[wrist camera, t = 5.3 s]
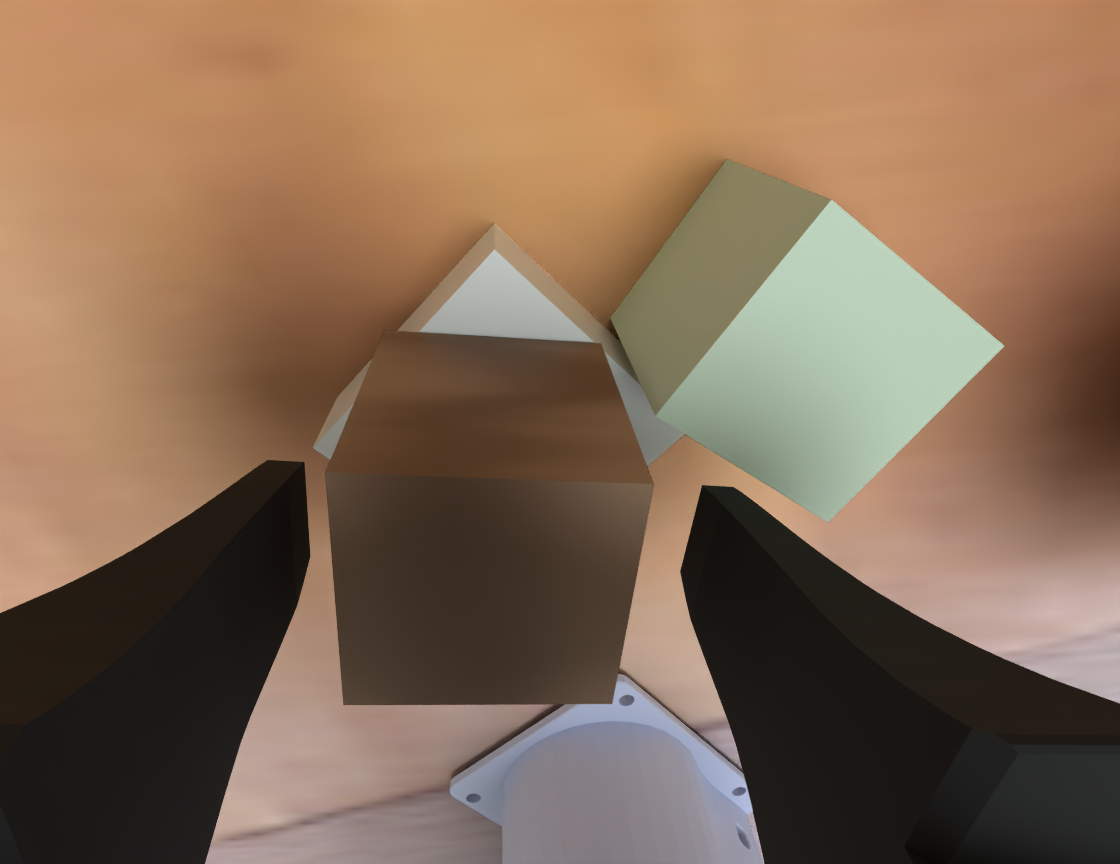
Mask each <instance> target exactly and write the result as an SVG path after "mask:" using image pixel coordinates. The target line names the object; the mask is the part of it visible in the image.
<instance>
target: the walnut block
mask: <svg viewBox="0 0 1120 864" xmlns="http://www.w3.org/2000/svg"><path fill="white" fill-rule="evenodd" d="M325 476H326V489H327V502H328V514H329V527H330V540H331V553H332V565H333V578H334V591H335V603H336V616H337V629H338V641H339V654H340V667H341V679H342V692H343V705H490V704H612V703H613V698H614V693H615V687H616V682H617V677H618V672H619V666H620V661H621V656H622V650H623V645H624V640H625V635H626V629H627V624H628V619H629V613H630V608H631V603H632V597H633V592H634V587H635V582H636V576H637V571H638V566H639V560H640V555H641V550H642V545H643V539H644V534H645V529H646V523H647V518H648V513H649V508H650V502H651V497H652V492H653V486H654V483H653V480H652V478H651V475H650V472H649V470H648V467H647V464H646V462H645V459H644V456H643V454H642V451H641V448H640V446H639V443H638V440H637V438H636V435H635V432H634V430H633V427H632V424H631V422H630V419H629V416H628V414H627V411H626V408H625V406H624V403H623V400H622V398H621V395H620V392H619V390H618V387H617V384H616V382H615V379H614V376H613V374H612V371H611V368H610V366H609V363H608V360H607V357H606V355H605V352H604V349H603V347H602V344H601V343H589V342H572V341H556V340H539V339H522V338H506V337H489V336H473V335H456V334H439V333H423V332H406V331H390V330H384V332H383V334H382V337H381V339H380V341H379V344H378V346H377V349H376V351H375V354H374V356H373V358H372V361H371V363H370V366H369V368H368V370H367V373H366V375H365V378H364V380H363V382H362V385H361V387H360V390H359V392H358V394H357V397H356V399H355V402H354V404H353V407H352V409H351V411H350V414H349V416H348V419H347V421H346V423H345V426H344V428H343V431H342V433H341V435H340V438H339V440H338V443H337V445H336V448H335V450H334V452H333V455H332V457H331V460H330V462H329V464H328V467H327V469H326V472H325Z"/></svg>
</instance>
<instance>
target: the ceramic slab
mask: <svg viewBox="0 0 1120 864" xmlns="http://www.w3.org/2000/svg"><path fill="white" fill-rule="evenodd" d="M397 331H406V332H423V333H439V334H456V335H473V336H489V337H506V338H522V339H539V340H556V341H572V342H589V343H601V344H602V347H603V349H604V352H605V355H606V357H607V360H608V363H609V366H610V368H611V371H612V374H613V376H614V379H615V382H616V384H617V387H618V390H619V392H620V395H621V398H622V400H623V403H624V406H625V408H626V411H627V414H628V416H629V419H630V422H631V424H632V427H633V430H634V432H635V435H636V438H637V440H638V443H639V446H640V448H641V451H642V454H643V456H644V459H645V462H646V464H647V467H648V466H649V465H650V464H651V463H652V462H653V461H655V460H656V459H657V458H658V457H659V456H660V455H661V454H663V453H664V452H665V451H666V450H667V449H668V448H669V447H671V446H672V445H673V444H674V443H675V442H676V441H677V440H679V439H680V438H681V437H682V436H683V435H684V433H682V432H680V431H679V430H677V429H675V428H674V427H672V426H671V425H669V424H667V423H666V422H664V421H663V420H661V419H659V418H658V417H656V416H655V414H654V412H653V410H652V408H651V406H650V404H649V401H648V399H647V397H646V395H645V393H644V391H643V388H642V386H641V384H640V382H639V380H638V377H637V375H636V373H635V371H634V369H633V367H632V364H631V362H630V360H629V358H628V356H627V354H626V351H625V349H624V347H623V345H622V343H621V342H620V341H619V340H618V339H617V338H616V337H615V336H613V335H612V334H611V333H610V332H609V331H608V330H607V329H606V328H605V327H604V326H603V325H602V324H601V323H600V322H599V321H598V320H597V319H596V318H594V317H593V316H592V315H591V314H590V313H589V312H588V311H587V310H586V309H585V308H584V307H583V306H582V305H581V304H580V303H579V302H578V301H577V300H576V299H574V298H573V297H572V296H571V295H570V294H569V293H568V292H567V291H566V290H565V289H564V288H563V287H562V286H561V285H560V284H559V283H558V282H557V281H555V280H554V279H553V278H552V277H551V276H550V275H549V274H548V273H547V272H546V271H545V270H544V269H543V268H542V267H541V266H540V265H539V264H538V263H537V262H535V261H534V260H533V259H532V258H531V257H530V256H529V255H528V254H527V253H526V252H525V251H524V250H523V249H522V248H521V247H520V246H519V245H518V244H516V243H515V242H514V241H513V240H512V239H511V238H510V237H509V236H508V235H507V234H506V233H505V232H504V231H503V230H502V229H501V228H500V227H499V226H498V225H496V224H495V223H494V224H493V225H492V226H491V227H490V229H489V230H488V231H487V232H486V233H485V234H484V235H483V236H482V237H481V238H480V240H479V241H478V242H477V243H476V244H475V245H474V246H473V247H472V248H471V250H470V251H469V252H468V253H467V254H466V255H465V256H464V257H463V258H462V259H461V261H460V262H459V263H458V264H457V265H456V266H455V267H454V268H453V269H452V271H451V272H450V273H449V274H448V275H447V276H446V277H445V278H444V279H443V281H442V282H441V283H440V284H439V285H438V286H437V287H436V288H435V289H434V290H433V292H432V293H431V294H430V295H429V296H428V297H427V298H426V299H425V300H424V302H423V303H422V304H421V305H420V306H419V307H418V308H417V309H416V310H415V311H414V313H413V314H412V315H411V316H410V317H409V318H408V319H407V320H406V321H405V323H404V324H403V325H402V326H401V327H400V328H399V329H398V330H397ZM371 361H372V359H371V360H370V361H369V362H368V363H367V365H366V366H365V367H364V368H363V369H362V370H361V371H360V372H359V373H358V375H357V376H356V377H355V378H354V379H353V380H352V381H351V382H350V383H349V384H348V386H347V387H346V388H345V389H344V390H343V391H342V392H341V393H340V394H339V396H338V397H337V399H336V401H335V403H334V405H333V407H332V409H331V411H330V413H329V415H328V417H327V419H326V421H325V423H324V425H323V427H322V429H321V431H320V433H319V436H318V438H317V440H316V442H315V444H314V446H313V448H314V449H315V450H316V451H318V452H319V453H321V454H322V455H324V456H325V457H327V458H328V459H330V460H331V457H332V455H333V452H334V450H335V448H336V445H337V443H338V440H339V438H340V435H341V433H342V431H343V428H344V426H345V423H346V421H347V419H348V416H349V414H350V411H351V409H352V407H353V404H354V402H355V399H356V397H357V394H358V392H359V390H360V387H361V385H362V382H363V380H364V378H365V375H366V373H367V370H368V368H369V366H370V363H371Z"/></svg>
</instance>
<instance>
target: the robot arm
mask: <svg viewBox="0 0 1120 864" xmlns="http://www.w3.org/2000/svg"><path fill="white" fill-rule="evenodd" d="M309 559H310V544H309V528H308V512H307V496H306V481H305V465H304V462H292V461H275V460H267V461H266V462H264V463H263V464H261V465H260V466H258V467H257V468H255V469H254V470H252V471H251V472H249V473H248V474H247V475H245V476H244V477H242V478H241V479H240V480H238V481H237V482H236V483H234V484H233V485H231V486H230V487H229V488H227V489H226V490H224V491H223V492H221V493H220V494H219V495H217V496H216V497H214V498H213V499H211V500H210V501H208V502H207V503H206V504H204V505H203V506H201V507H200V508H198V509H197V510H195V511H194V512H193V513H191V514H190V515H188V516H187V517H185V518H183V519H182V520H180V521H179V522H177V523H175V524H174V525H172V526H171V527H169V528H167V529H166V530H164V531H163V532H161V533H159V534H158V535H156V536H155V537H153V538H151V539H150V540H148V541H146V542H145V543H143V544H142V545H140V546H138V547H137V548H135V549H133V550H132V551H130V552H128V553H126V554H125V555H123V556H121V557H119V558H117V559H115V560H114V561H112V562H110V563H108V564H106V565H104V566H102V567H100V568H98V569H96V570H94V571H92V572H90V573H88V574H86V575H84V576H83V577H81V578H79V579H77V580H75V581H73V582H70V583H68V584H66V585H64V586H62V587H60V588H58V589H55V590H53V591H51V592H48V593H46V594H44V595H41V596H39V597H37V598H34V599H32V600H30V601H27V602H25V603H23V604H20V605H18V606H16V607H14V608H11V609H9V610H7V611H4V612H2V613H0V864H205V861H206V858H207V854H208V851H209V847H210V844H211V840H212V837H213V833H214V830H215V826H216V823H217V819H218V816H219V812H220V809H221V805H222V802H223V799H224V795H225V792H226V789H227V786H228V782H229V779H230V776H231V772H232V769H233V766H234V763H235V759H236V756H237V753H238V749H239V746H240V743H241V740H242V738H243V735H244V732H245V730H246V727H247V724H248V722H249V719H250V716H251V714H252V712H253V709H254V707H255V705H256V702H257V700H258V697H259V695H260V693H261V690H262V688H263V686H264V683H265V681H266V679H267V676H268V674H269V672H270V669H271V667H272V665H273V662H274V660H275V658H276V655H277V653H278V650H279V648H280V646H281V643H282V641H283V639H284V636H285V634H286V631H287V629H288V627H289V624H290V622H291V619H292V617H293V614H294V612H295V610H296V607H297V604H298V601H299V597H300V593H301V590H302V586H303V583H304V579H305V575H306V571H307V567H308V563H309ZM680 572H681V577H682V582H683V587H684V592H685V597H686V602H687V606H688V610H689V615H690V619H691V622H692V624H693V627H694V630H695V633H696V636H697V638H698V641H699V644H700V647H701V649H702V652H703V655H704V658H705V660H706V663H707V666H708V668H709V671H710V674H711V676H712V679H713V682H714V684H715V687H716V690H717V692H718V695H719V698H720V700H721V703H722V706H723V708H724V711H725V714H726V716H727V719H728V722H729V725H730V728H731V731H732V734H733V737H734V740H735V743H736V746H737V750H738V754H739V758H740V762H741V766H742V770H743V773H742V772H741V771H740V770H738V769H737V768H736V767H735V766H734V765H732V764H731V763H730V762H729V761H728V760H726V759H725V758H724V757H723V756H722V755H720V754H719V753H718V752H717V751H716V750H714V749H713V748H712V747H711V746H710V745H708V744H707V743H706V742H705V741H704V740H702V739H701V738H700V737H699V736H698V735H696V734H695V733H694V732H693V731H692V730H690V729H689V728H688V727H687V726H686V725H684V724H683V723H682V722H681V721H680V720H678V719H677V718H676V717H675V716H674V715H672V714H671V713H670V712H669V711H668V710H666V709H665V708H664V707H663V706H662V705H660V704H659V703H658V702H657V701H656V700H654V699H653V698H652V697H651V696H650V695H648V694H647V693H646V692H645V691H644V690H642V689H641V688H640V687H639V686H638V685H636V684H635V683H634V682H633V681H632V680H630V679H629V678H628V677H626V676H625V675H621V674H618V677H617V682H616V687H615V693H614V698H613V703H612V704H565V705H563V706H562V707H560V708H559V709H557V710H556V711H554V712H553V713H551V714H550V715H548V716H547V717H545V718H544V719H542V720H541V721H539V722H538V723H536V724H534V725H533V726H531V727H530V728H528V729H527V730H525V731H524V732H522V733H521V734H519V735H518V736H516V737H515V738H513V739H512V740H510V741H508V742H507V743H505V744H504V745H502V746H501V747H499V748H498V749H496V750H495V751H493V752H492V753H490V754H489V755H487V756H486V757H484V758H483V759H481V760H479V761H478V762H476V763H475V764H473V765H472V766H470V767H469V768H467V769H466V770H464V771H463V772H461V773H460V774H458V775H457V776H455V777H454V778H453V779H452V780H451V782H450V794H451V795H452V796H453V797H454V798H455V799H457V800H459V801H460V802H462V803H463V804H465V805H467V806H468V807H470V808H472V809H473V810H475V811H477V812H478V813H480V814H482V815H483V816H485V817H486V818H488V819H490V820H491V821H493V822H495V823H496V824H498V825H500V826H501V827H502V864H763V862H762V859H761V856H760V853H759V850H758V847H757V844H756V841H755V838H754V835H753V832H752V829H751V826H750V823H749V820H748V817H747V815H748V814H749V813H751V812H753V814H754V818H755V823H756V827H757V831H758V836H759V840H760V844H761V849H762V853H763V858H764V862H765V864H1120V704H1119V703H1117V702H1114V701H1111V700H1108V699H1105V698H1103V697H1100V696H1097V695H1094V694H1091V693H1089V692H1086V691H1083V690H1080V689H1078V688H1075V687H1072V686H1069V685H1066V684H1064V683H1061V682H1058V681H1056V680H1053V679H1051V678H1048V677H1046V676H1043V675H1041V674H1039V673H1036V672H1034V671H1031V670H1029V669H1027V668H1024V667H1022V666H1019V665H1017V664H1015V663H1012V662H1010V661H1008V660H1005V659H1003V658H1001V657H999V656H996V655H994V654H992V653H990V652H988V651H985V650H983V649H981V648H979V647H977V646H975V645H973V644H971V643H969V642H967V641H965V640H963V639H961V638H959V637H957V636H955V635H953V634H951V633H949V632H947V631H945V630H943V629H941V628H939V627H937V626H935V625H933V624H931V623H929V622H928V621H926V620H924V619H922V618H920V617H918V616H917V615H915V614H913V613H911V612H910V611H908V610H906V609H905V608H903V607H901V606H899V605H898V604H896V603H894V602H893V601H891V600H889V599H888V598H886V597H884V596H883V595H881V594H879V593H878V592H876V591H875V590H873V589H871V588H870V587H868V586H867V585H865V584H864V583H862V582H861V581H859V580H858V579H856V578H855V577H853V576H852V575H851V574H849V573H848V572H846V571H845V570H843V569H842V568H840V567H839V566H838V565H836V564H835V563H833V562H832V561H830V560H829V559H828V558H826V557H825V556H824V555H822V554H821V553H820V552H818V551H817V550H816V549H814V548H813V547H812V546H810V545H809V544H808V543H806V542H805V541H804V540H802V539H801V538H800V537H798V536H797V535H796V534H795V533H793V532H792V531H791V530H790V529H788V528H787V527H786V526H784V525H783V524H782V523H781V522H779V521H778V520H777V519H776V518H774V517H773V516H772V515H771V514H769V513H768V512H767V511H765V510H764V509H763V508H762V507H760V506H759V505H758V504H756V503H755V502H754V501H753V500H751V499H750V498H749V497H747V496H746V495H744V494H743V493H742V492H740V491H739V490H737V489H736V488H734V487H722V486H705V485H702V488H701V492H700V496H699V500H698V504H697V508H696V512H695V516H694V520H693V524H692V528H691V532H690V535H689V539H688V543H687V547H686V551H685V555H684V559H683V563H682V567H681V571H680ZM624 695H628V696H624Z"/></svg>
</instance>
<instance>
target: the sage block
mask: <svg viewBox="0 0 1120 864" xmlns="http://www.w3.org/2000/svg"><path fill="white" fill-rule="evenodd" d="M610 319H611V321H612V323H613V325H614V328H615V330H616V332H617V334H618V336H619V338H620V341H621V343H622V345H623V347H624V349H625V351H626V354H627V356H628V358H629V360H630V362H631V364H632V367H633V369H634V371H635V373H636V375H637V377H638V380H639V382H640V384H641V386H642V388H643V391H644V393H645V395H646V397H647V399H648V401H649V404H650V406H651V408H652V410H653V412H654V414H655V416H656V417H658V418H659V419H661V420H663V421H664V422H666V423H667V424H669V425H671V426H672V427H674V428H675V429H677V430H679V431H680V432H682V433H684V434H685V435H687V436H688V437H690V438H692V439H693V440H695V441H697V442H698V443H700V444H701V445H703V446H705V447H706V448H708V449H710V450H711V451H713V452H714V453H716V454H718V455H719V456H721V457H722V458H724V459H726V460H727V461H729V462H731V463H732V464H734V465H735V466H737V467H739V468H740V469H742V470H744V471H745V472H747V473H748V474H750V475H752V476H753V477H755V478H756V479H758V480H760V481H761V482H763V483H765V484H766V485H768V486H769V487H771V488H773V489H774V490H776V491H778V492H779V493H781V494H782V495H784V496H786V497H787V498H789V499H791V500H792V501H794V502H795V503H797V504H799V505H800V506H802V507H803V508H805V509H807V510H808V511H810V512H812V513H813V514H815V515H816V516H818V517H820V518H821V519H823V520H825V521H826V522H829V521H830V520H831V519H832V518H833V517H834V516H835V515H836V514H837V513H838V512H839V511H840V510H841V509H842V508H843V507H844V506H845V505H846V504H847V503H848V502H849V501H850V500H851V499H852V498H853V497H854V496H855V495H856V494H857V493H858V492H859V491H860V490H861V489H862V488H863V487H864V486H865V485H866V484H867V483H868V482H869V481H870V480H871V479H872V478H873V477H874V476H875V475H876V474H877V473H878V472H879V471H880V470H881V469H882V468H883V467H884V466H885V465H886V464H887V463H888V462H889V461H890V460H891V459H892V458H893V457H894V456H895V455H896V454H897V453H898V452H899V451H900V450H901V449H902V448H903V447H904V446H905V445H906V444H907V443H908V442H909V441H910V440H911V439H912V438H913V437H914V436H915V435H916V434H917V433H918V432H919V431H920V430H921V429H922V428H923V427H924V426H925V425H926V424H927V423H928V422H929V421H930V420H931V419H932V418H933V417H934V416H935V415H936V414H937V413H938V412H939V411H940V410H941V409H942V408H943V407H944V406H945V405H946V404H947V403H948V402H949V401H950V400H951V399H952V398H953V397H954V396H955V395H956V394H957V393H958V392H959V391H960V390H961V389H962V388H963V387H964V386H965V385H966V384H967V383H968V382H969V381H970V380H971V379H972V378H973V377H974V376H975V375H976V374H977V373H978V372H979V371H980V370H981V369H982V368H983V367H984V366H985V365H986V364H987V363H988V362H989V361H990V360H991V359H992V358H993V357H994V356H995V355H996V354H997V353H998V352H999V351H1000V350H1001V349H1002V348H1003V347H1004V345H1003V344H1002V343H1000V342H999V341H998V340H997V339H996V338H994V337H993V336H992V335H991V334H990V333H989V332H987V331H986V330H985V329H984V328H983V327H981V326H980V325H979V324H978V323H977V322H976V321H974V320H973V319H972V318H971V317H970V316H968V315H967V314H966V313H965V312H964V311H963V310H961V309H960V308H959V307H958V306H957V305H955V304H954V303H953V302H952V301H951V300H950V299H948V298H947V297H946V296H945V295H944V294H942V293H941V292H940V291H939V290H938V289H937V288H935V287H934V286H933V285H932V284H931V283H929V282H928V281H927V280H926V279H925V278H924V277H922V276H921V275H920V274H919V273H918V272H916V271H915V270H914V269H913V268H912V267H911V266H909V265H908V264H907V263H906V262H905V261H903V260H902V259H901V258H900V257H899V256H898V255H896V254H895V253H894V252H893V251H892V250H890V249H889V248H888V247H887V246H886V245H885V244H883V243H882V242H881V241H880V240H879V239H877V238H876V237H875V236H874V235H873V234H872V233H870V232H869V231H868V230H867V229H866V228H864V227H863V226H862V225H861V224H860V223H859V222H857V221H856V220H855V219H854V218H853V217H851V216H850V215H849V214H848V213H847V212H846V211H844V210H843V209H842V208H841V207H840V206H838V205H837V204H836V203H835V202H834V201H833V200H831V199H829V198H826V197H823V196H821V195H818V194H816V193H813V192H811V191H808V190H806V189H803V188H800V187H798V186H795V185H793V184H790V183H788V182H785V181H783V180H780V179H777V178H775V177H772V176H770V175H767V174H765V173H762V172H760V171H757V170H754V169H752V168H749V167H747V166H744V165H742V164H739V163H737V162H734V161H731V160H729V159H727V160H726V161H725V163H724V164H723V165H722V167H721V168H720V169H719V171H718V172H717V174H716V175H715V176H714V178H713V179H712V180H711V182H710V183H709V184H708V186H707V187H706V189H705V190H704V191H703V193H702V194H701V195H700V197H699V198H698V199H697V201H696V202H695V203H694V205H693V206H692V208H691V209H690V210H689V212H688V213H687V214H686V216H685V217H684V218H683V220H682V221H681V222H680V224H679V225H678V227H677V228H676V229H675V231H674V232H673V233H672V235H671V236H670V237H669V239H668V240H667V241H666V243H665V244H664V246H663V247H662V248H661V250H660V251H659V252H658V254H657V255H656V256H655V258H654V259H653V260H652V262H651V263H650V265H649V266H648V267H647V269H646V270H645V271H644V273H643V274H642V275H641V277H640V278H639V280H638V281H637V282H636V284H635V285H634V286H633V288H632V289H631V290H630V292H629V293H628V294H627V296H626V297H625V299H624V300H623V301H622V303H621V304H620V305H619V307H618V308H617V309H616V311H615V312H614V313H613V315H612V316H611V318H610Z"/></svg>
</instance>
